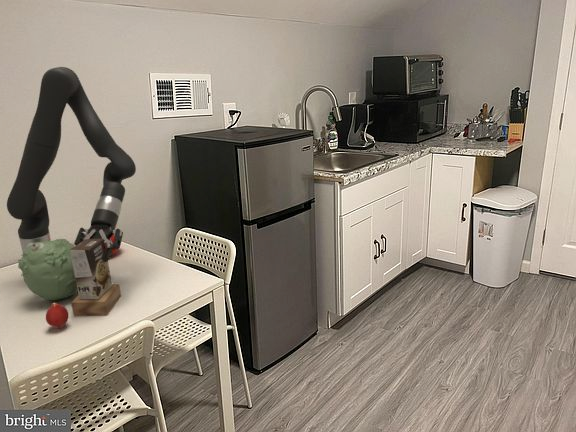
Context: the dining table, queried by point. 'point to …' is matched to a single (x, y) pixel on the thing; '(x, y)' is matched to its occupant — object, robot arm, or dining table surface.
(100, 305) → the walnut box
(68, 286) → the cabbage
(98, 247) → the coffee box
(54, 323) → the onion
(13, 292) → the dining table surface
